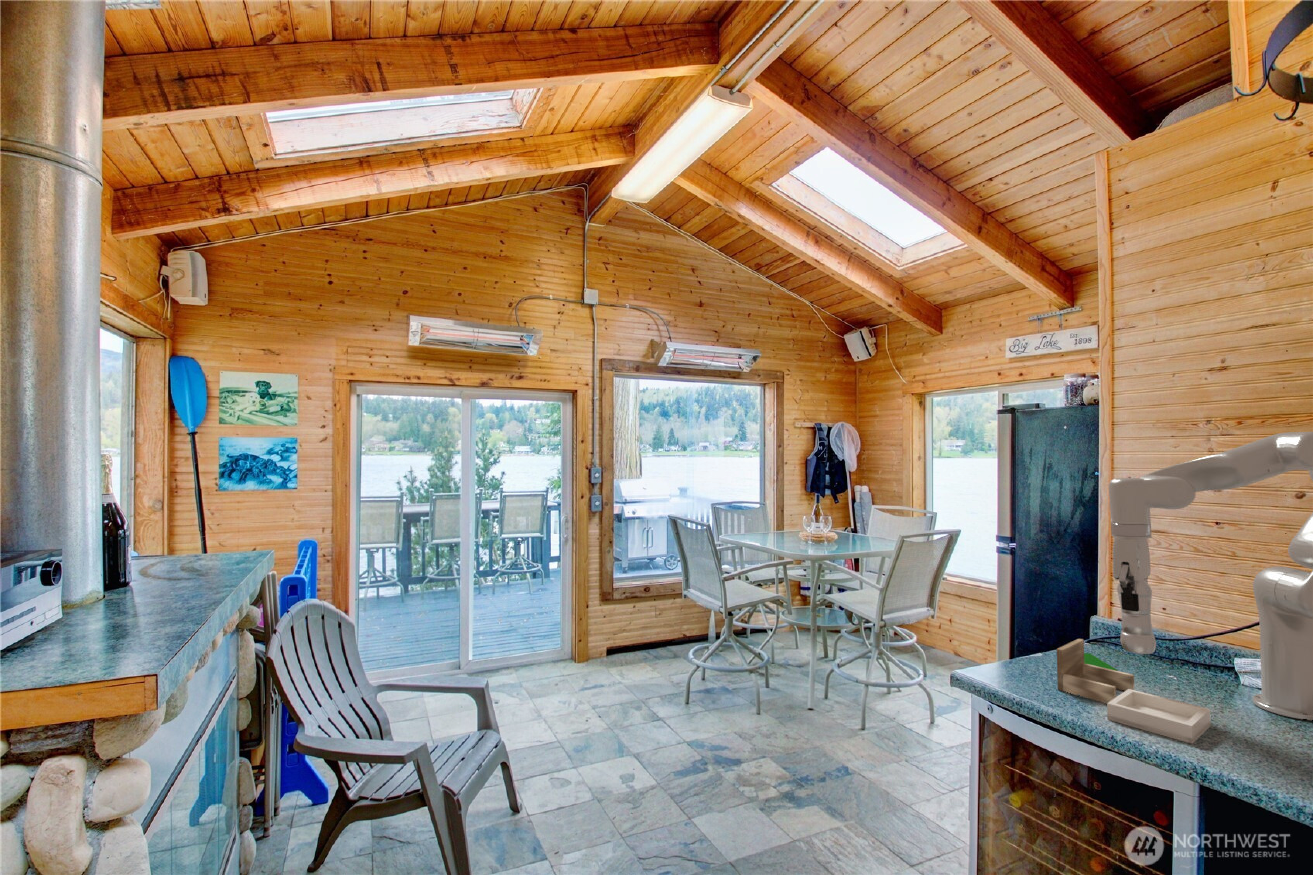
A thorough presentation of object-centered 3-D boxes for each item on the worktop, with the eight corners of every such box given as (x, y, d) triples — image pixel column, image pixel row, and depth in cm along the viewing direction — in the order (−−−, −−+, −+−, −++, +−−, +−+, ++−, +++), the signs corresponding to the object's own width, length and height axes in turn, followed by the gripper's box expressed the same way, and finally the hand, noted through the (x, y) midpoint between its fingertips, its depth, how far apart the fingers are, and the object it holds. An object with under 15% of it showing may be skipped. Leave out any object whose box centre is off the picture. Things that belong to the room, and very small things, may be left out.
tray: (1210, 725, 133) (1210, 708, 133) (1192, 743, 125) (1191, 726, 125) (1129, 704, 144) (1128, 688, 144) (1107, 719, 136) (1107, 703, 136)
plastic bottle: (1163, 657, 142) (1157, 569, 143) (1129, 657, 143) (1124, 569, 144) (1147, 649, 148) (1141, 564, 149) (1115, 648, 150) (1110, 564, 150)
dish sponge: (1090, 661, 174) (1090, 652, 174) (1118, 679, 161) (1118, 669, 161) (1062, 660, 175) (1062, 651, 176) (1088, 678, 162) (1087, 668, 162)
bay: (1134, 691, 152) (1133, 649, 152) (1114, 705, 143) (1113, 661, 144) (1079, 677, 161) (1078, 638, 161) (1057, 690, 153) (1056, 648, 153)
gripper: (1124, 526, 155) (1129, 598, 154) (1098, 533, 145) (1103, 611, 144) (1162, 528, 149) (1167, 604, 148) (1137, 536, 139) (1142, 617, 138)
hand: (1135, 607), depth 146 cm, fingers closed on plastic bottle, 6 cm apart
